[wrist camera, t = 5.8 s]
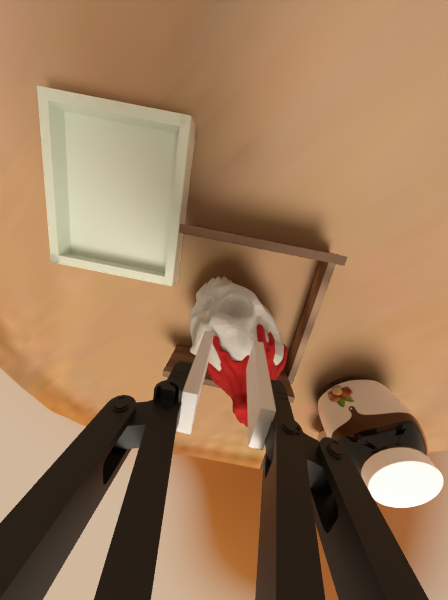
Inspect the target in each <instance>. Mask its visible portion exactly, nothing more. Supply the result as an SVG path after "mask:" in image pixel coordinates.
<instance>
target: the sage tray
mask: <svg viewBox="0 0 448 600" xmlns="http://www.w3.org/2000/svg"><path fill="white" fill-rule="evenodd" d="M37 95H38V107H39V120H40V132H41V144H42V157H43V169H44V182H45V194H46V207H47V219H48V232H49V244H50V256H51V262H54V263H59V264H64V265H69V266H73V267H78V268H83V269H88V270H93V271H98V272H103V273H108V274H113V275H118V276H123V277H128V278H133V279H138V280H143V281H148V282H153V283H158V284H163V285H168V286H173V285H174V284H176V283H177V282H178V279H179V270H180V262H181V254H182V245H183V237H184V233H179V226H180V224H185V220H186V212H187V204H188V195H189V187H190V179H191V170H192V162H193V154H194V145H195V137H196V129H197V128H196V126H195V123H194V121H193V119H192V116H191V115H186V114H181V113H175V112H170V111H165V110H160V109H155V108H150V107H145V106H140V105H134V104H129V103H124V102H119V101H114V100H109V99H104V98H99V97H93V96H88V95H83V94H78V93H73V92H68V91H63V90H58V89H52V88H47V87H42V86H37Z"/></svg>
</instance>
